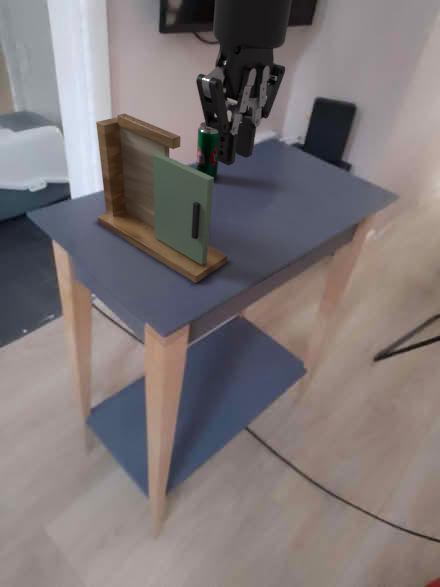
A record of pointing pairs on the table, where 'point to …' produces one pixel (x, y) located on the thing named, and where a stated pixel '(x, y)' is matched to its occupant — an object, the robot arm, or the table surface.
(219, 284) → the table surface
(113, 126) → the door frame
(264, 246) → the table surface
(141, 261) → the table surface
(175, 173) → the door
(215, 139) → the soda can
